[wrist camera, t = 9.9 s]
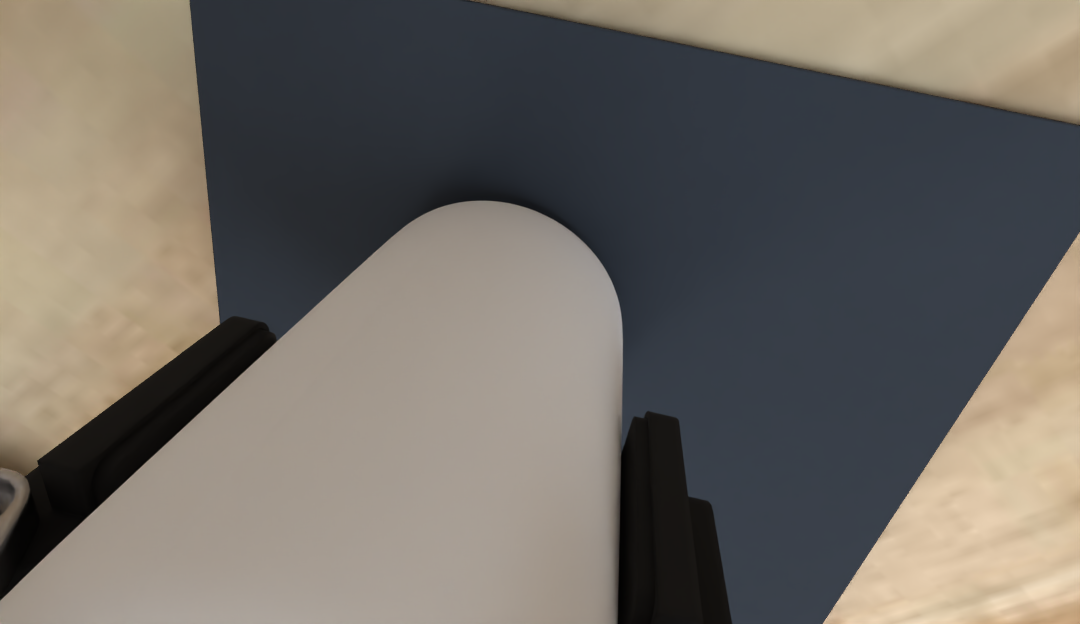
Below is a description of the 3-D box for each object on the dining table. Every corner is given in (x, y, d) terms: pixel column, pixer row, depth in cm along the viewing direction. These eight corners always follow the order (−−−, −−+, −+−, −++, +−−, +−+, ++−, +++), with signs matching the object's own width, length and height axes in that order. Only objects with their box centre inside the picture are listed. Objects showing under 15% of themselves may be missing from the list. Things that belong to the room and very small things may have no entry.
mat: (245, 521, 21) (239, 529, 21) (195, -56, 13) (183, -59, 12) (792, 655, 20) (795, 666, 20) (1126, 134, 12) (1142, 138, 11)
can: (330, 324, 16) (-304, 975, 5) (466, 134, 13) (-317, 694, 2) (518, 458, 17) (327, 1211, 6) (679, 311, 14) (834, 1221, 3)
